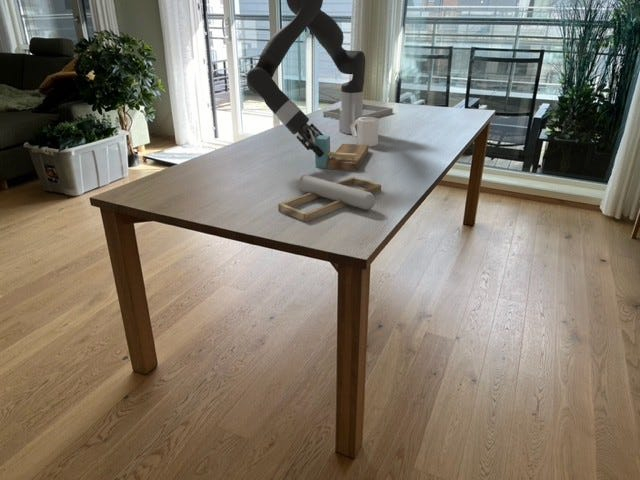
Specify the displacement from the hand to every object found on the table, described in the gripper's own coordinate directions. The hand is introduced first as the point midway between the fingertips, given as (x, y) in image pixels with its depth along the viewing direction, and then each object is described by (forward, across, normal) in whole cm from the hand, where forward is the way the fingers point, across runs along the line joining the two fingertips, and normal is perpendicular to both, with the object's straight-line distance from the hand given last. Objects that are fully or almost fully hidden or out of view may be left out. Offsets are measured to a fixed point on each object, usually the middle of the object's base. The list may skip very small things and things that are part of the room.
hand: (325, 152), depth 164 cm
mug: (+9, +33, -2) cm, 34 cm away
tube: (+11, -32, -5) cm, 34 cm away
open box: (+8, +9, -1) cm, 12 cm away
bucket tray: (0, +86, +6) cm, 86 cm away
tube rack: (+10, -31, -3) cm, 33 cm away
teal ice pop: (+6, 0, +1) cm, 6 cm away
